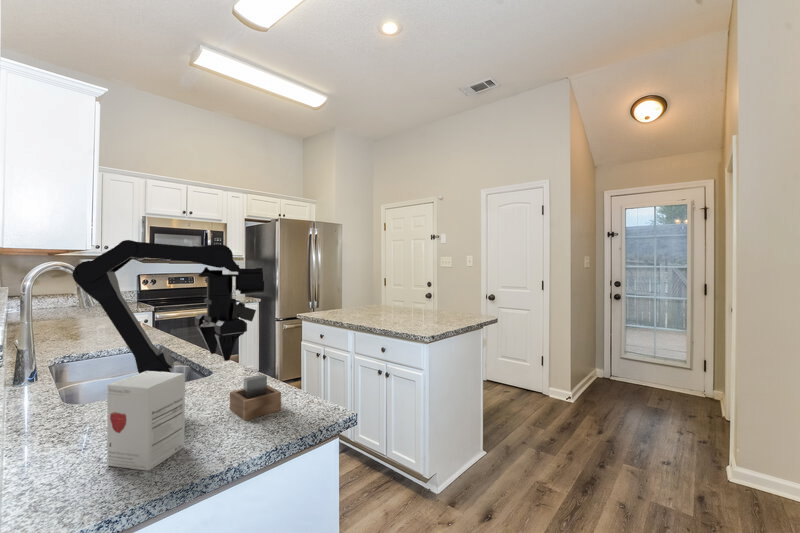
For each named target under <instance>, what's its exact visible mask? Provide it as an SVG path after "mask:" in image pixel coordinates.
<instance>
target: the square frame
mask: <svg viewBox="0 0 800 533" xmlns="http://www.w3.org/2000/svg"><path fill="white" fill-rule="evenodd" d="M281 404H282V391H280V390H278V389H275V388H274V387H272V386H270V385H268V384H267V394H266V395H262V396H259V397H255V398H251V399H246V398H244V388H241V389H235V390H232V391H229V411H230V412H231V413H233V412H234V414H235V415H236V416H237V415H238V418H240V419H242V420H243V421H244V422H245V421H249V420H253V419H256V418H258V417H259V416H260V417H262V415H263V416H266V415H269V413H270V414H272V412H273V413H276V412H279V410H280V411H281V410H282V405H281Z"/></svg>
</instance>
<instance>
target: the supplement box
mask: <svg viewBox="0 0 800 533" xmlns="http://www.w3.org/2000/svg"><path fill="white" fill-rule="evenodd" d="M106 389H107V390H106V391H107V393H106V394H107V398H106V399H107V400H106V402H107V403H106V404H107V429H106V430H107V434H106V435H107V436H106V437H107V439H106V440H107V441H106V445H107V446H106V447H107V449H106V450H107V452H106V453H107V454H106V456H107V464H106V465H107V467H109V466H110V467H115V468H117V467H118V468H125V469H132V470H140V471H148V472H149V471H151V470H152V469H155V467H156V466H159V464H162V463H163V462H165V460H167V459H169V458H170V457H172V456H173V455H175V454H177V452H179V451H180V450H182V449H184V448H185V422H186V421H185V420H186V418H185V413H186V412H185V411H186V410H185V407H186V402H185V401H186V394H185V393H186V374H185V373H180V372H173V373H170V372H157V371H145V372H142V373H136V374H135V375H132V376H128V377H125V378H122V379H118V380H116V381H112V382H111V383H108V384H107V388H106Z"/></svg>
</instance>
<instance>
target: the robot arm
mask: <svg viewBox="0 0 800 533" xmlns="http://www.w3.org/2000/svg"><path fill="white" fill-rule="evenodd" d="M134 258H139V259H140V258H141V259H155V260H169V261H181V262H182V261H183V262H185V261H186V262H192V263H196V264H200V265H205V266H206V267H204V269H203V271H201V272H200V273H198V277H199V278H206V298H204V301H203V302H204V304H206V313H198V314H197V315H195V317H194V326H196V329H197V330H198V332H199V333H200V335H201V337H202V339H203V341H204V343H205V346H206V348H207V349H208V351H209V353H210V354H211V355H214V354H216V353H217V347H219V350H220V353H221V355H222V358H223V361H225V362H227V361H230V360H231V357H232V353H233V350H234V347H235V344H236V341H237V339H239V337H241V336H243V335H244V334H245V332H248V323H247V322H246V321H248V322H253V319H254V318H255V314H256V311H257V310H256V309H253V308H250V307H246V305H245V303H243V302H240V301H237V300H236V298H234V297H233V286H234V285H235V286H234V287H235V288H234V289H235V291H238V292H239V295H257V294H258V295H259V294H260V295H261V294H262V295H263V294H264V293H265V280H264V273H263V271H264V270H263V267H254V268H252V267H251V268H243V267H242V268H241V267H240V265H239V264H237V263H236V261H235V260H234V259H233V258H234V255H233V251H232V249H230V247H229V246H227V245H225V244H221V243H220V244H219V243H218V244H205V245H192V246H191V245H180V244H179V245H178V244H169V243H168V244H167V243H155V242H143V241H135V240H131V239H124V240H121V241H120V242H119V243H118V244H117V245H116V246H114V247H112V248H110V249H109V250H107V251H105V252H104V253H102V254H100V255H98V256H97V257H95V258H94V259H92V260H85V261H82V262H80V263H78V264H77V265H76V266H75V267H74V269H73V272H72V279H73V280H74V283H76V284H77V286H79V287H80V288H81V289H82V290H83V291H84V292H85V293H86V294H87V295H89V297H91V298H92V299H94V300H95V301H96V302H98V304H100V306H101V308H102V309H103V310H104V311H103V312H105V314H106V315H107V317H108V319H109V320H110V321H111V323H112V324H113V327H115V329H116V330H117V332H118V334H119V335H120V337H121V338H122V340H123V341H124V343H125V344H126V346H127V347H128V349H129V350H130V351H131V354H132V355H133V357H134V360H135V364H136V368H137V372H138V373H137V374H139V373H142V372H145V371H157V372H170V373H175V362H176V360H175V359H174V358H173V357H172V356H171V355H170V351H169V350H168V348H167V347H164V348H163V349H161V350H160V349H159V348H158V347H157V346H155V345H154V344H153V342H152V340H151V339H150V337H149V335H148V334H147V332H146V331H145V329H144V328H143V326H142V325H141V323H140V322H139V320H138V318H137V317H136V315H135V314H134V311H132V309H131V308H130V306H129V305H128V303H127V301H126V300H125V298H124V296H123V295H122V293H121V289H120V284H119V280H118V278H117V275H116V273H117V271H119V270H120V269H122V268H123V267H124V266H126V265H127V264H128V263H129V262H130V261H132V260H133V259H134ZM207 266H209V267H213V268H216V269H209V268H208V267H207ZM217 268H218V269H217ZM223 268H225V269H226V270H228V271H229V272H233V273H223ZM233 277H234V278H235V280H234V282H235V283H234V285H233ZM245 320H246V321H245Z"/></svg>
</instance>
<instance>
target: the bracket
mask: <svg viewBox="0 0 800 533" xmlns="http://www.w3.org/2000/svg"><path fill="white" fill-rule="evenodd" d="M267 385H268V376H267V375H266V374H260V375H254V376H251V377H250V376H249V377H246V378H243V389H244V398H246V399H251V398H255V397H259V396H262V395H266V394H267Z"/></svg>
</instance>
